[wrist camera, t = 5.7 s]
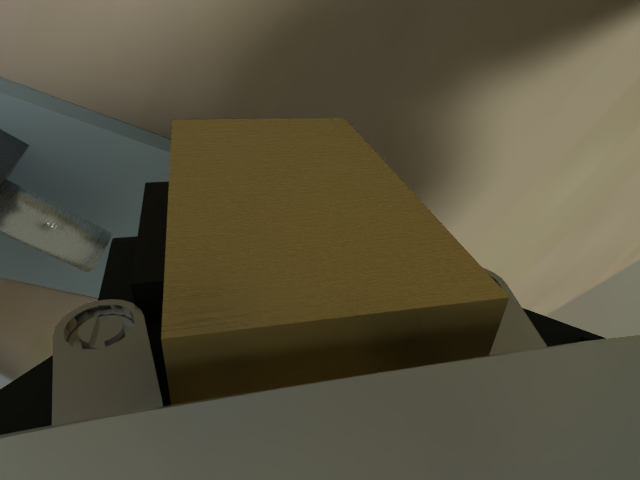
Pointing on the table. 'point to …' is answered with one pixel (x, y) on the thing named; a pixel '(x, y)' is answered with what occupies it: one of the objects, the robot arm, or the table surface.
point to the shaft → (44, 217)
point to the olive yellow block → (306, 263)
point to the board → (76, 178)
